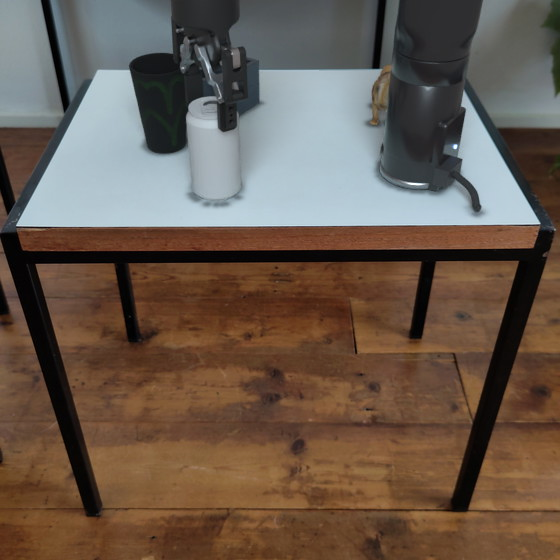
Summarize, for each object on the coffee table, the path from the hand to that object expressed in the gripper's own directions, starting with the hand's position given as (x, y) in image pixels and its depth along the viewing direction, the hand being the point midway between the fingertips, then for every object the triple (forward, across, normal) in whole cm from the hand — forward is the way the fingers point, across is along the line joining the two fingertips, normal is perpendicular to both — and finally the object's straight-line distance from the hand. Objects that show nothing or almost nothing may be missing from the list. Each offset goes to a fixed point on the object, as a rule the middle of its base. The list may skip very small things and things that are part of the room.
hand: (210, 115), depth 88 cm
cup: (+11, +14, 0) cm, 18 cm away
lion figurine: (+10, +5, -33) cm, 35 cm away
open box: (+11, +22, -11) cm, 27 cm away
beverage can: (+11, 0, 0) cm, 11 cm away
